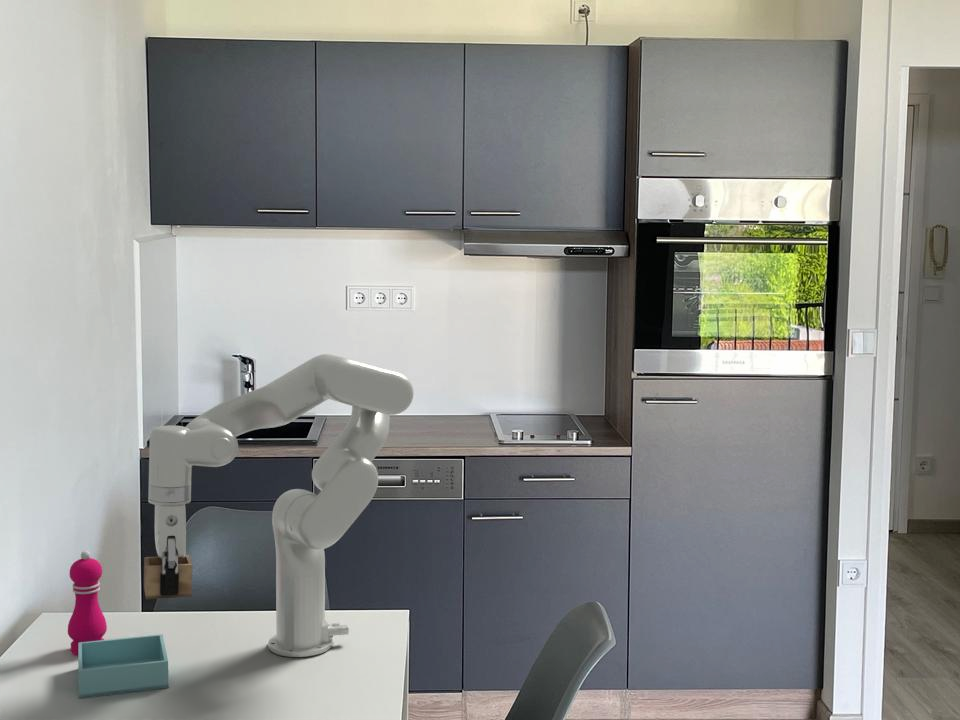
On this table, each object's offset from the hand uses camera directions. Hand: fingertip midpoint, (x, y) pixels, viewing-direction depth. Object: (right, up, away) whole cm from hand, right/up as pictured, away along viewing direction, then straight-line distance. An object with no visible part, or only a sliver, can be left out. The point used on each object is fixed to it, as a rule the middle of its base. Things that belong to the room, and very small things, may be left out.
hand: (167, 588), depth 206 cm
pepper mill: (-19, -15, +12) cm, 27 cm away
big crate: (-8, -16, -1) cm, 18 cm away
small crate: (0, -1, 0) cm, 1 cm away
